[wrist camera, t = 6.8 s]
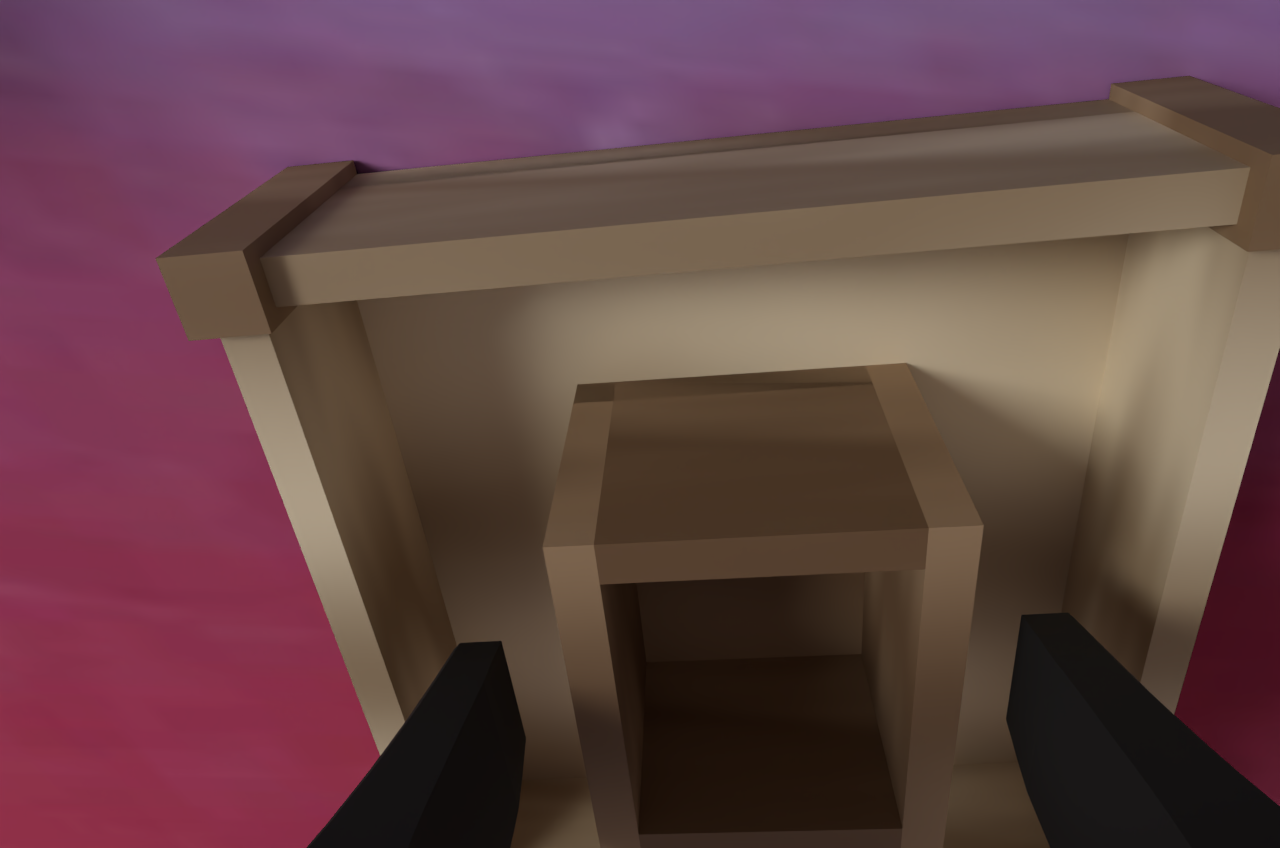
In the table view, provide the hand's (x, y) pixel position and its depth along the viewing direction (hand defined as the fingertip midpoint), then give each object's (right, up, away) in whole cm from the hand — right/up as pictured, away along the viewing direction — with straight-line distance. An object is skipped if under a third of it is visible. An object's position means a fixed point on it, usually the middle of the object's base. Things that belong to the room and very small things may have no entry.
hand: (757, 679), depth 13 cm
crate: (0, +2, +3) cm, 4 cm away
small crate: (0, +2, +3) cm, 3 cm away
